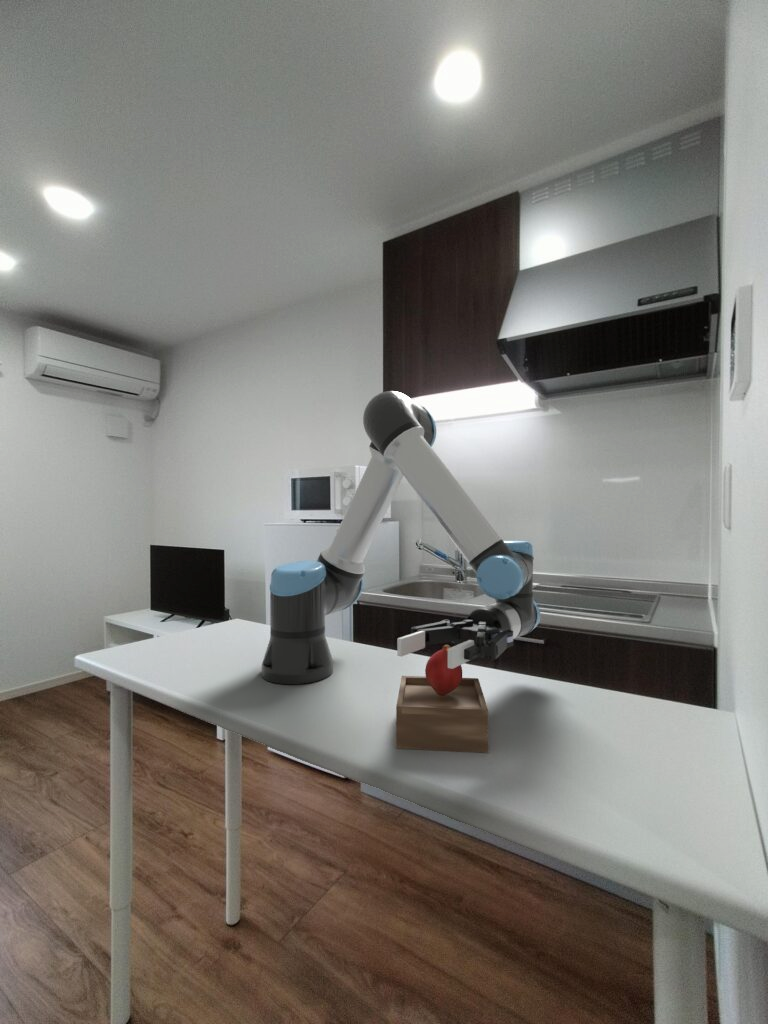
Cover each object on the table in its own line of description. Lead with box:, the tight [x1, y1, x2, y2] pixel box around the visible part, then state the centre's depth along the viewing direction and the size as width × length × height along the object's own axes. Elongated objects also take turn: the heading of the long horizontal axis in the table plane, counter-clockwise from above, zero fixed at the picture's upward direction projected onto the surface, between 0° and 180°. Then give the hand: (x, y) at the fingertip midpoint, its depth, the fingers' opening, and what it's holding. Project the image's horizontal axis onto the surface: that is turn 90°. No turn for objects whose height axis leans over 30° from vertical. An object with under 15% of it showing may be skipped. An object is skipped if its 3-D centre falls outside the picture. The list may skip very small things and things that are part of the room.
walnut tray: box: [395, 675, 489, 754], centre depth 71 cm, size 13×13×6 cm
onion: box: [424, 644, 463, 696], centre depth 72 cm, size 6×6×8 cm
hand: (423, 652), depth 68 cm, fingers open, 8 cm apart
